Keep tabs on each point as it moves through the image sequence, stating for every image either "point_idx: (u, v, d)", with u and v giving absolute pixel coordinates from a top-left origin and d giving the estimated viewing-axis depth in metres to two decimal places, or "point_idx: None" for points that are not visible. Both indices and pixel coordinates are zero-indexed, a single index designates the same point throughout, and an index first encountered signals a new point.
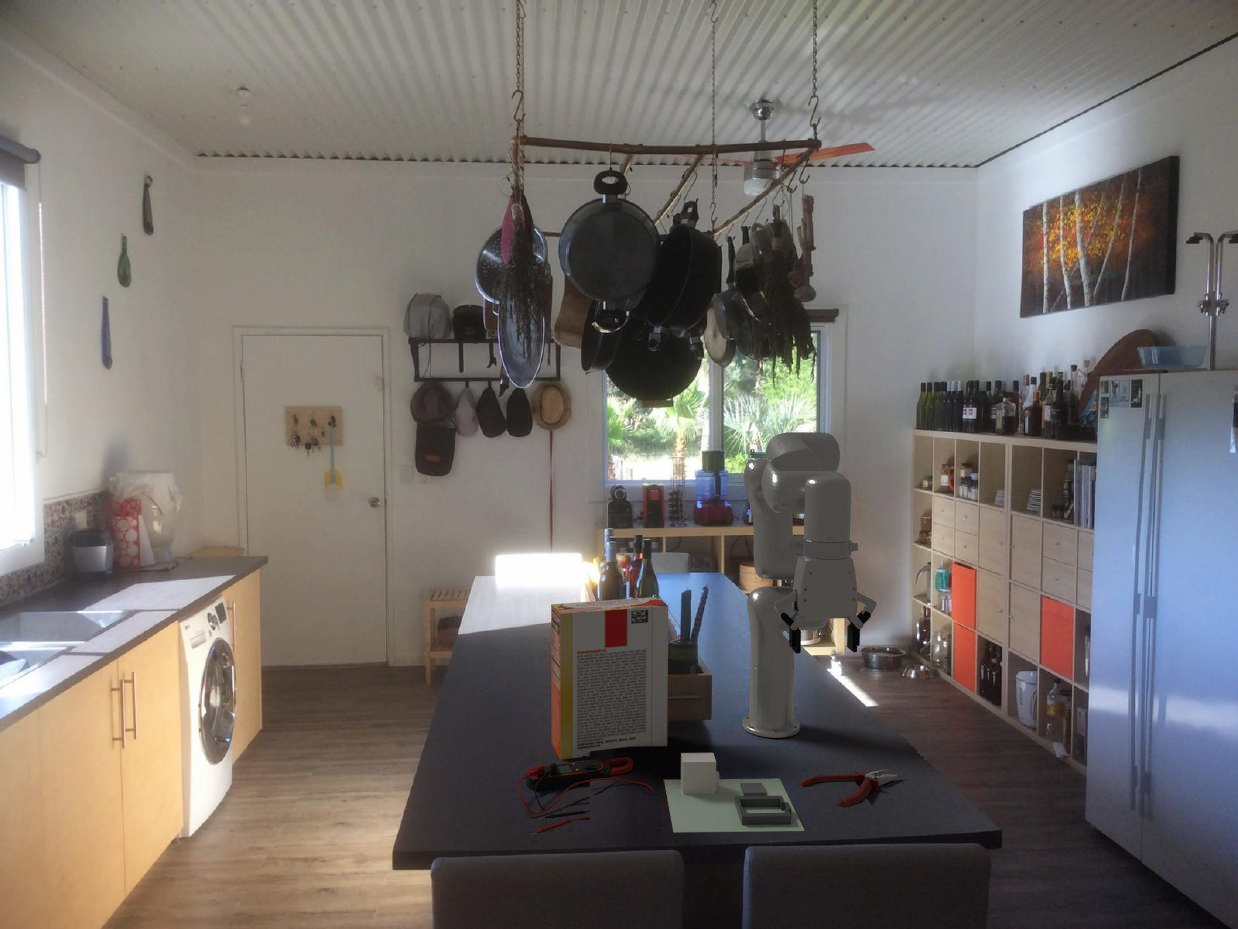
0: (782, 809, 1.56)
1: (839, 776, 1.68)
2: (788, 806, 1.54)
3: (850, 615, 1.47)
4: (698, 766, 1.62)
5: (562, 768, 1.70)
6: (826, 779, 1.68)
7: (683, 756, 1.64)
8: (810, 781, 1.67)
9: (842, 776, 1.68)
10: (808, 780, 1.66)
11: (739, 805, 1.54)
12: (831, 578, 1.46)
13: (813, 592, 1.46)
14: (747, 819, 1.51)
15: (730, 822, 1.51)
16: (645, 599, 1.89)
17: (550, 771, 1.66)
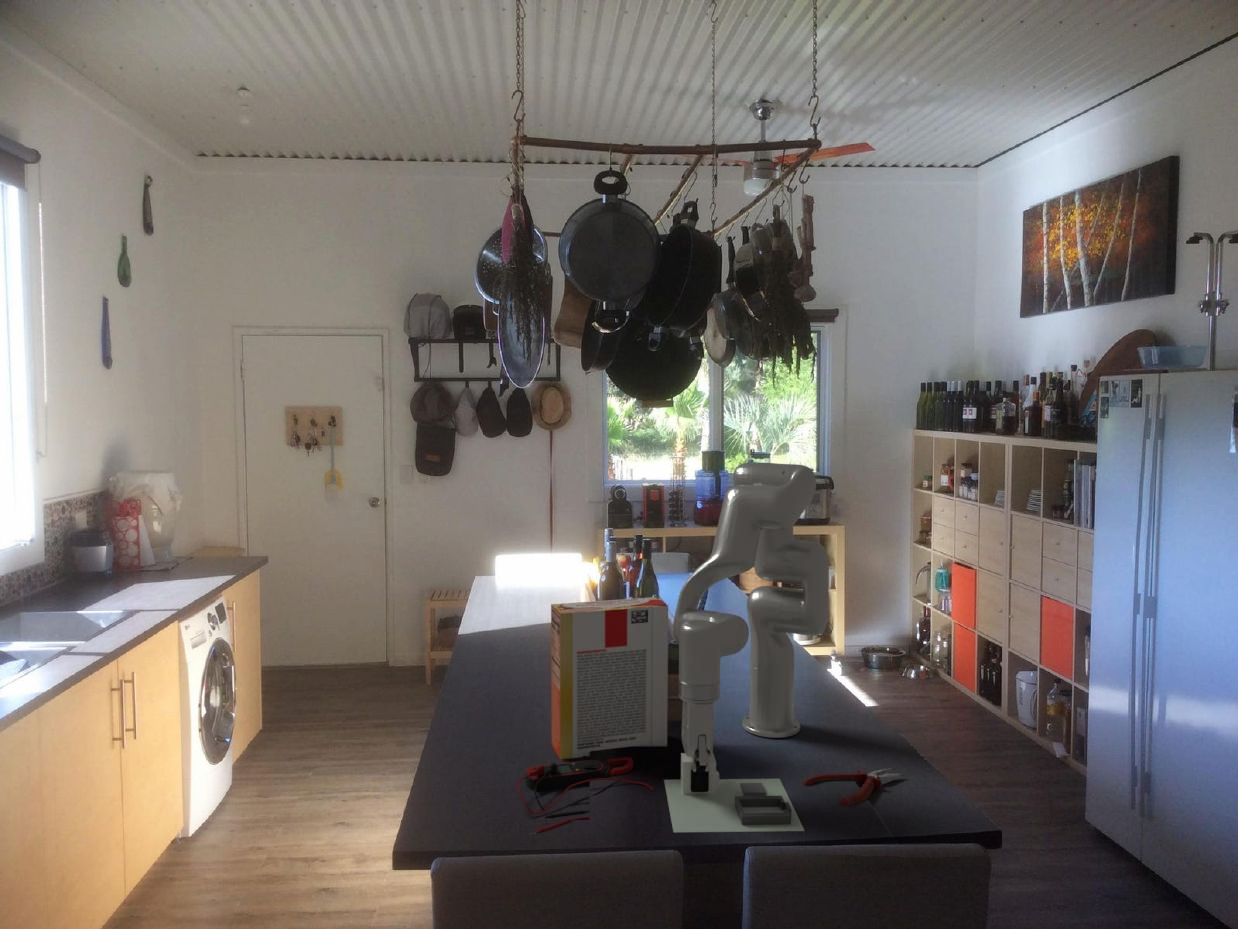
0: (782, 809, 1.56)
1: (842, 775, 1.68)
2: (788, 806, 1.54)
3: None
4: None
5: (562, 768, 1.70)
6: (829, 778, 1.68)
7: (683, 756, 1.64)
8: (813, 780, 1.67)
9: (845, 775, 1.68)
10: (811, 779, 1.67)
11: (739, 805, 1.54)
12: None
13: None
14: (747, 819, 1.51)
15: (730, 822, 1.51)
16: (645, 599, 1.89)
17: (550, 771, 1.66)
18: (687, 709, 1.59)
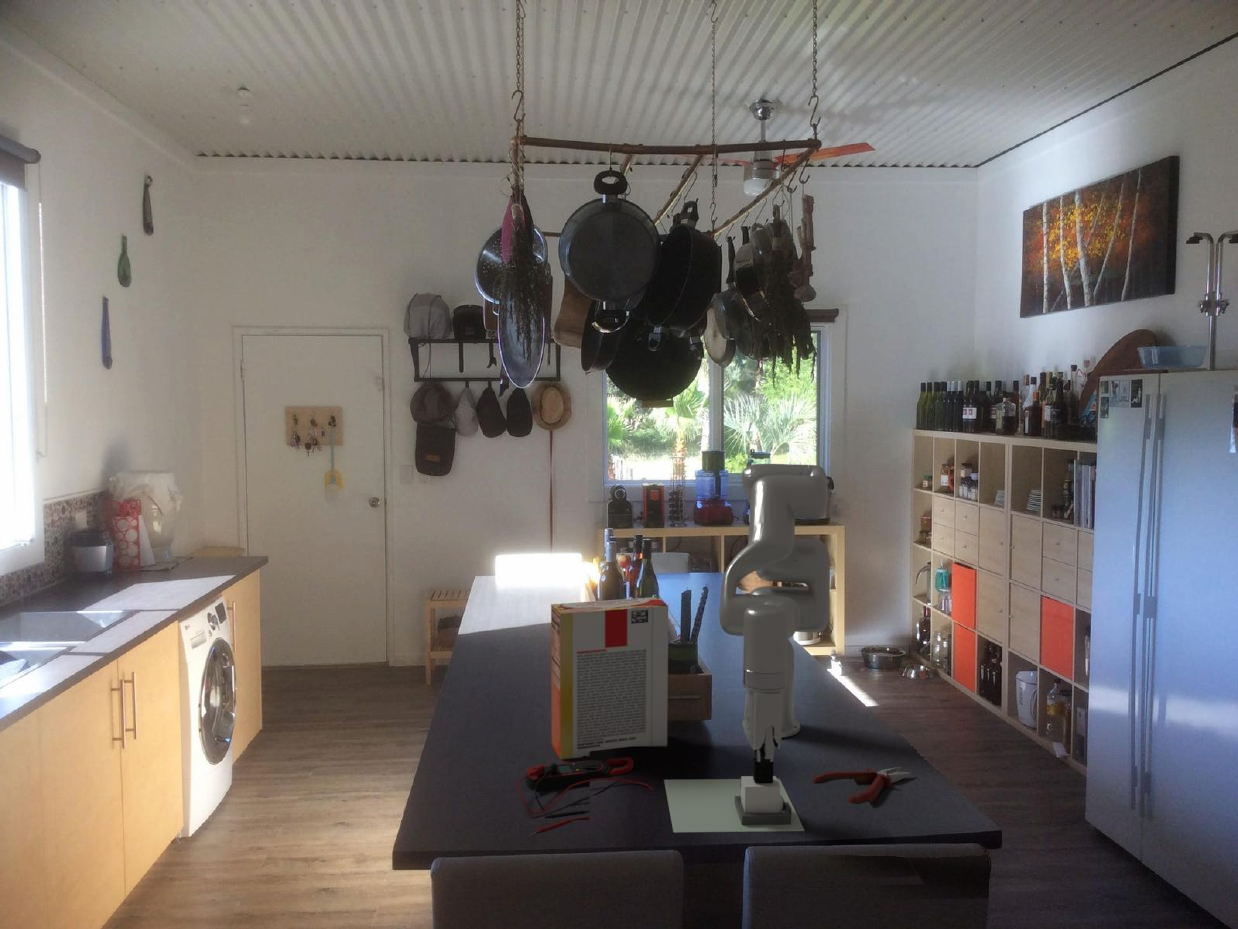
0: None
1: (851, 773, 1.69)
2: (788, 806, 1.54)
3: None
4: (761, 791, 1.52)
5: (562, 768, 1.70)
6: (838, 776, 1.69)
7: (744, 780, 1.54)
8: (823, 777, 1.68)
9: (855, 773, 1.69)
10: (820, 777, 1.68)
11: (739, 805, 1.54)
12: None
13: None
14: (747, 819, 1.51)
15: (730, 822, 1.51)
16: (645, 599, 1.89)
17: (550, 771, 1.66)
18: (753, 699, 1.49)
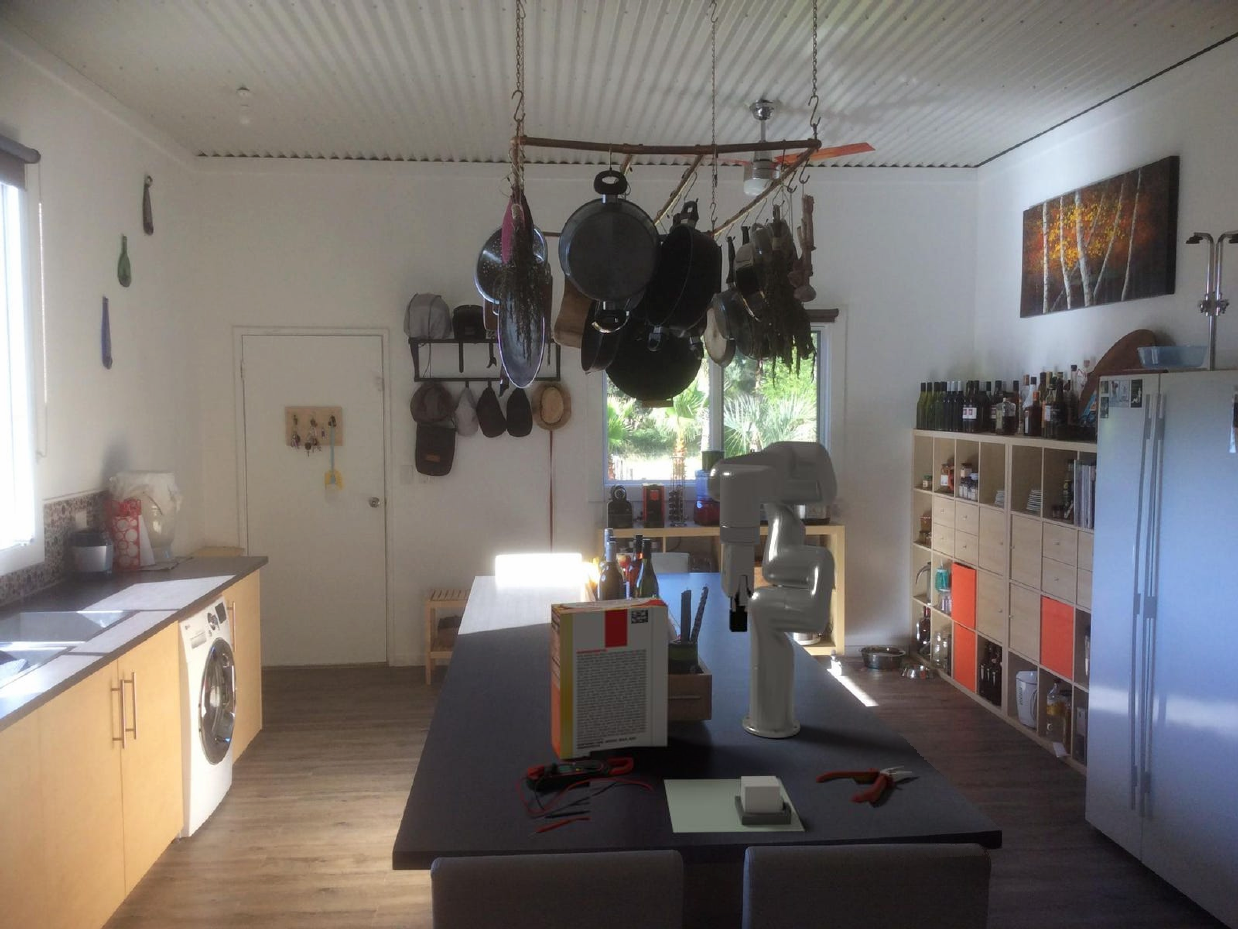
0: None
1: (854, 772, 1.70)
2: (788, 806, 1.54)
3: None
4: (761, 790, 1.52)
5: (562, 768, 1.70)
6: (841, 775, 1.70)
7: (744, 780, 1.54)
8: (825, 777, 1.68)
9: (857, 772, 1.70)
10: (823, 776, 1.68)
11: (739, 805, 1.54)
12: None
13: None
14: (747, 819, 1.51)
15: (730, 822, 1.51)
16: (645, 599, 1.89)
17: (550, 771, 1.66)
18: (729, 551, 1.63)
